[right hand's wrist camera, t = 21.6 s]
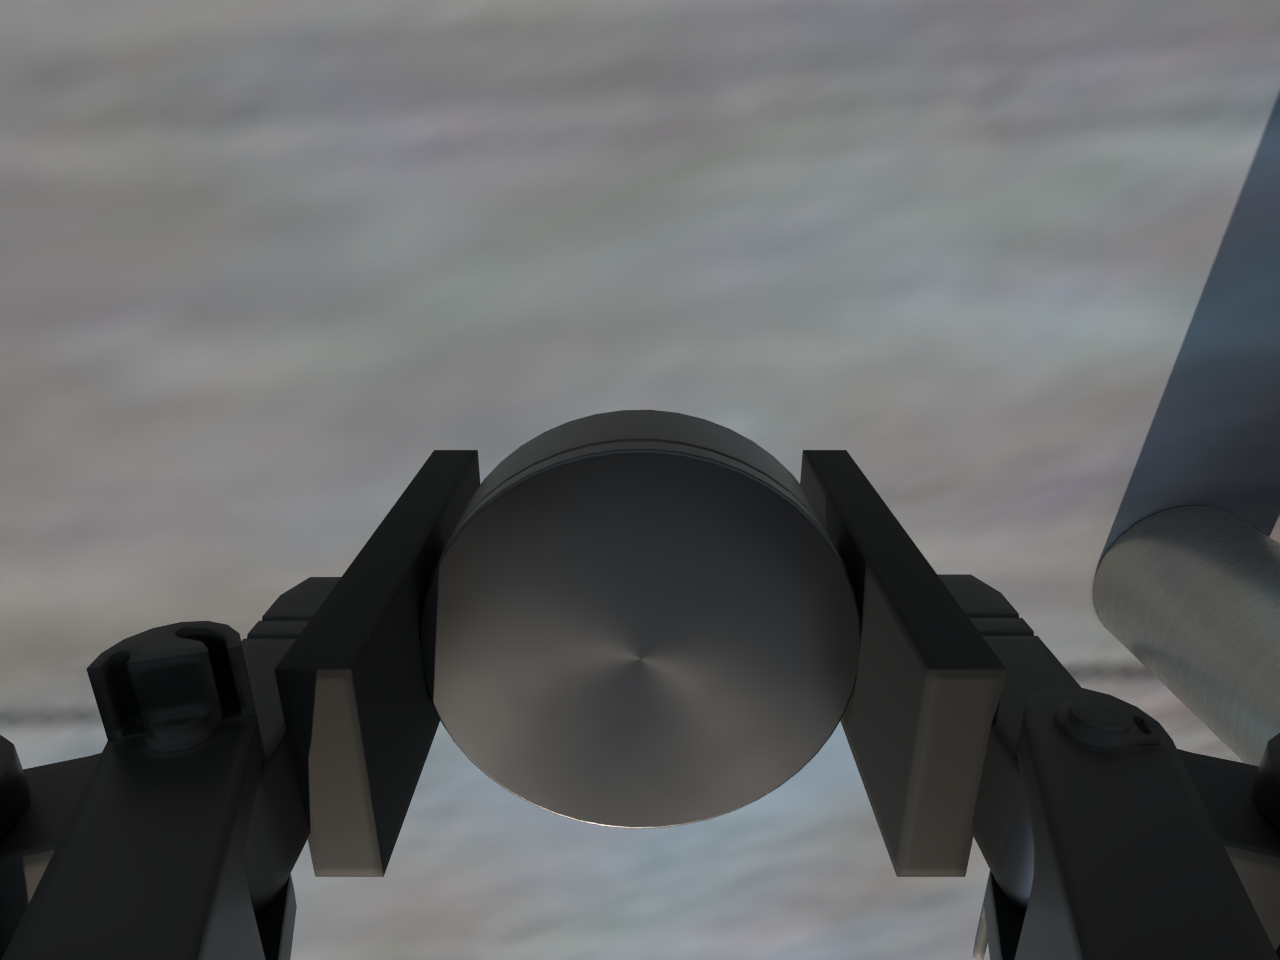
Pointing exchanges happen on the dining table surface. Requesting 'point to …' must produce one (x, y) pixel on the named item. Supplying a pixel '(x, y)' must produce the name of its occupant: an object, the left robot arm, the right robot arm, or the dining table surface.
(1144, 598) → the silver metal canister
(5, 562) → the dining table surface
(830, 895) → the dining table surface
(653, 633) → the lid
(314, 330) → the dining table surface
